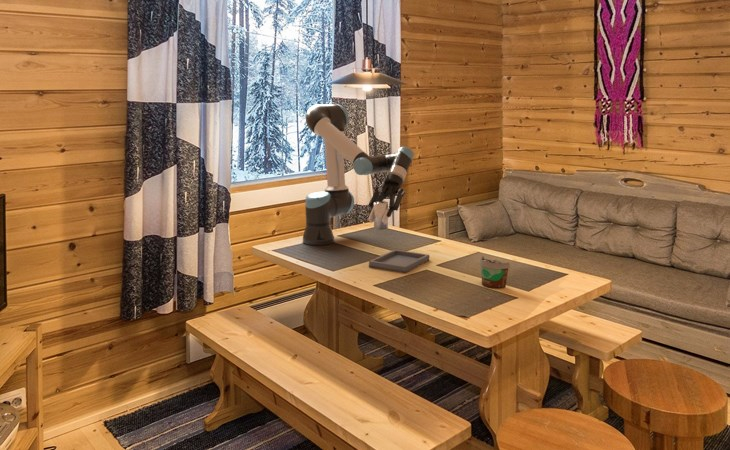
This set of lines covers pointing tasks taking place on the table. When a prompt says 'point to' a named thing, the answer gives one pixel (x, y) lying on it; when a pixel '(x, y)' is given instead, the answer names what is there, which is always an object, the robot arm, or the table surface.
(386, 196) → the robot arm
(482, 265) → the food container
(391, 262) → the slate tray
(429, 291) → the table surface
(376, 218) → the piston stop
